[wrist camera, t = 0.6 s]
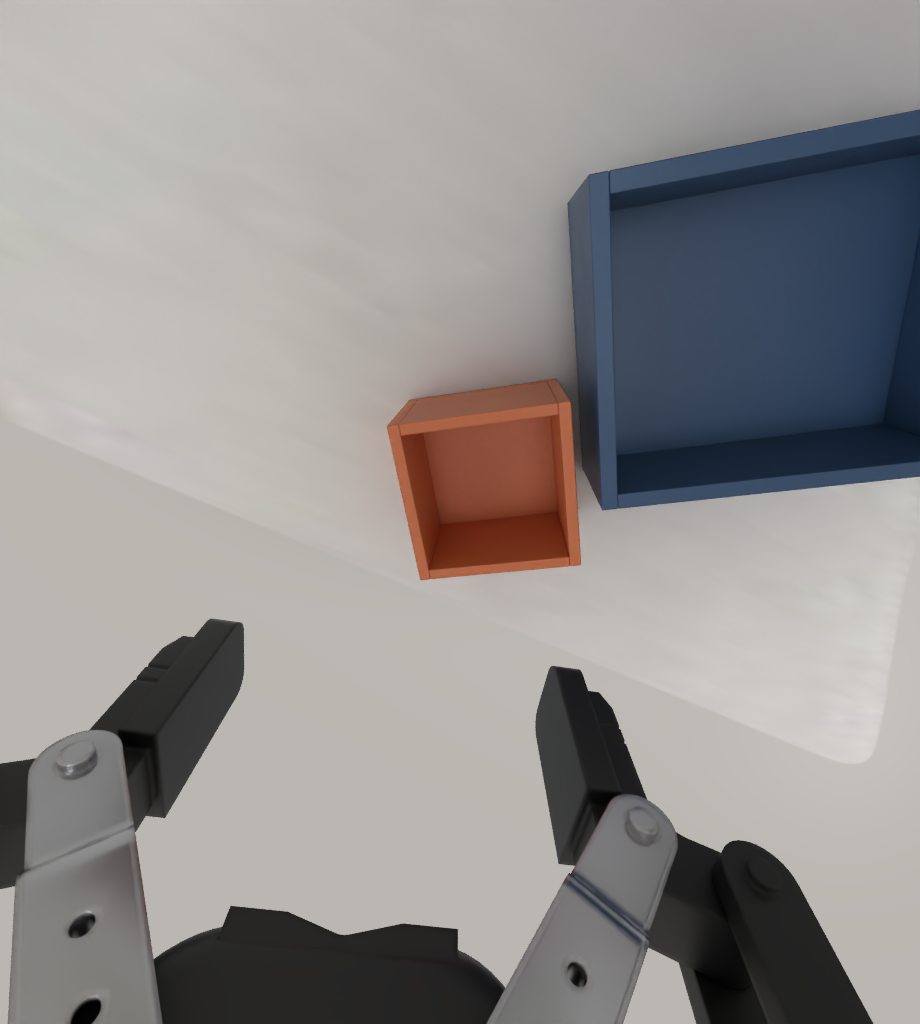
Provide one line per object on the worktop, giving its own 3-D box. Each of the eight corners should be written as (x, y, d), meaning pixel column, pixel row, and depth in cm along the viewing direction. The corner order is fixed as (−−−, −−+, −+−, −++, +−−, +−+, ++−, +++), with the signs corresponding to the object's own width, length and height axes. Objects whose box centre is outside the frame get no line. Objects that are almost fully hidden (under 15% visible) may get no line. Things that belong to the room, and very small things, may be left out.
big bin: (948, 130, 23) (1108, 72, 17) (887, 432, 29) (989, 469, 23) (567, 202, 25) (588, 174, 19) (582, 468, 31) (602, 510, 25)
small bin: (556, 378, 29) (571, 400, 23) (566, 515, 32) (581, 565, 26) (409, 399, 30) (386, 426, 24) (434, 529, 33) (420, 580, 28)
